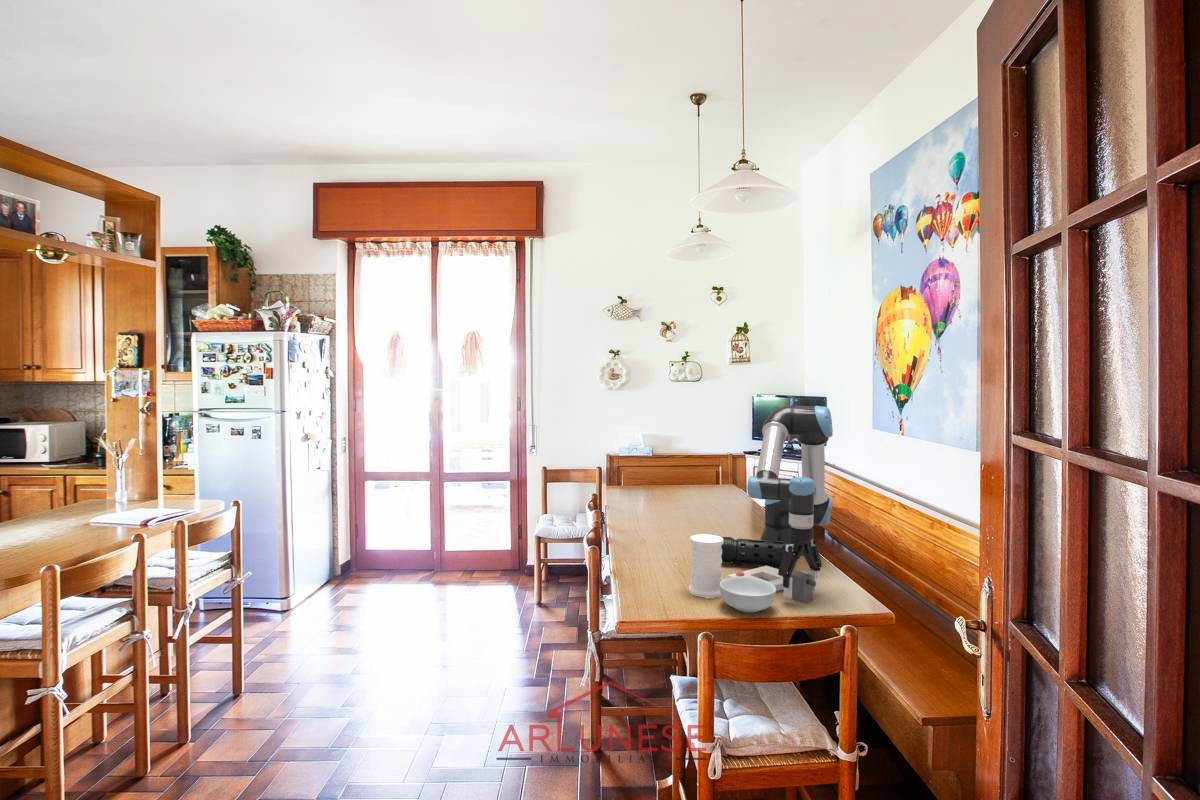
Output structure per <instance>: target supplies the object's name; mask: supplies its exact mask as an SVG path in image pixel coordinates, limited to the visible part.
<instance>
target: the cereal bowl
mask: <svg viewBox="0 0 1200 800" xmlns="http://www.w3.org/2000/svg"><path fill="white" fill-rule="evenodd" d="M720 594H721V597H720V598H721V599H722V600H723V602H725V603H726V604H727V605H728V606H730V607H731V608H734V609H735V610H737V611H739V612H742V613H747V614H748V613H750V614H751V613H758V612H760V611H763V610H766V609H768V608H770V607H771V606H772V605H773V604H774V602H775V599H776V595H777V593H776V588H775V586H774V585H772V584H771V583H769V582H766V581H763V580H760V579H756V578H750V577H732V578H728V577H726V578H725V579H722V581H721V582H720Z"/></svg>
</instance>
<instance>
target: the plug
mask: <svg viewBox="0 0 1200 800" xmlns="http://www.w3.org/2000/svg"><path fill="white" fill-rule="evenodd" d="M790 577H791V578H792V598H791V600H793V601H797V602H798V601H799V603H801V602H802V604H805V602H806V603H809V602H812V601H813V591H812V589H813V586H816V587H817V580H816V581H813V576H812V575H809V574H808V573H805V572H803V571H799V570H795V571H794V570H793V572H792V574H791V576H790ZM811 600H812V601H811ZM808 601H809V602H808Z"/></svg>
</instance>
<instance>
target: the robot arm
mask: <svg viewBox="0 0 1200 800" xmlns="http://www.w3.org/2000/svg"><path fill="white" fill-rule="evenodd" d="M831 414H832V413H831V410H830V409H829V408H828V407H827V406H821V405H784V406H780V407H778V408H777V409H774V411H773V412H771V413H770V414H769V415H768V417H767V418H766V419H765V420H764V422H763V425H762V429H761V433H762V436H763V439H762V443H761V449H760V453H759V459H758V463H757V467H756V473H755V475H754V476H749V477H748V480H747V484H746V485H747V489H746V490H747V495H748V497H749V498H751V499H758V500H764V528H763V531H762V532H761V533H762V534H761V537H760V539H759V540H768V541H782V542H791V544H790V545H787V544H784V552H783V556H782V560H781V564H780V568H778V569H779V571H778V575H780V576H783V587H784V591H782V593H783V597H785V598H788V599H791V598H792V578H791V577H790V576H791V574H792V572H794V569H795V566H796V565H797V562H798V560H800V558H801V557H804V559H805V561H806V563H807V564H808V566H809V568H808V570H807V574H809V575H812V576H813V581H816V582H817V578H818V572H820V571H821V568H822V566H823V565H822V560H821V556H820V553H819V548H818V540H817V539H814V528H813V527H814V526H815V525H816V526H827V525H829V523H830V522H831V516H832V508H833V498H832V497H830V496H829V493H828V491H826V489H825V488H826V487H825V486H826V485H825V481H826V477H825V475H826V474H825V473H826V471H825V469H826V468H825V465H826V464H825V444H826V443H828V441H829V438H831V437H833V431H834V430H833V421H832V415H831ZM788 436H794V437H795V436H796V439H797V442H798V443H800V445H801V446H800V447H801V450H800V451H801V452H800V453H801V476H794V477H792V478H782V477H779V475H780V469H781V462H782V457H783V456H782V455H783V450H784V445H785V444H784V443H785V440H786V439H787V438H788ZM787 572H788V574H787ZM812 592H817V585H816V586H813V589H812ZM791 600H792V599H791Z"/></svg>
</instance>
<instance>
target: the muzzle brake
mask: <svg viewBox="0 0 1200 800" xmlns="http://www.w3.org/2000/svg"><path fill="white" fill-rule="evenodd" d="M721 537H722V538H723V540H724V542H723V545H721V548H722V554H721V558H722V563H728V564H729V563H731V564H732V565H733V564H735V566H742V565H743V564H744V565H745V564H746V565H756V566H757V567H763V566H769V567H773V568H774V567H775V568H776V569H779V568H780V564H781V560H782V556H783V552H784V544H787V545H790V544H791V542H782V541H768V540H760V539H753V538H752V539H751V538H737V539H734V538H733V537H732V536H731V537H730V536H721Z"/></svg>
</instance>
